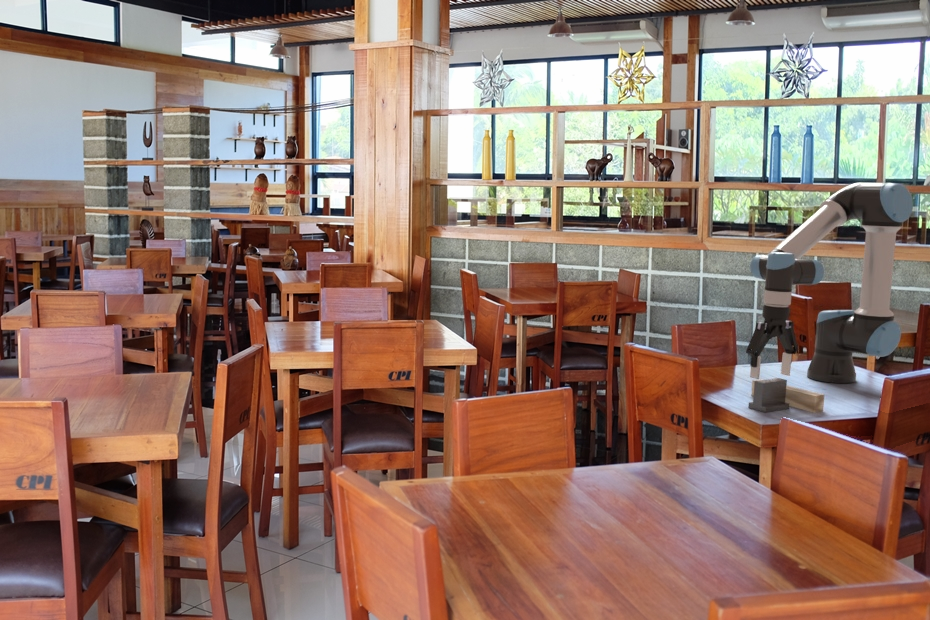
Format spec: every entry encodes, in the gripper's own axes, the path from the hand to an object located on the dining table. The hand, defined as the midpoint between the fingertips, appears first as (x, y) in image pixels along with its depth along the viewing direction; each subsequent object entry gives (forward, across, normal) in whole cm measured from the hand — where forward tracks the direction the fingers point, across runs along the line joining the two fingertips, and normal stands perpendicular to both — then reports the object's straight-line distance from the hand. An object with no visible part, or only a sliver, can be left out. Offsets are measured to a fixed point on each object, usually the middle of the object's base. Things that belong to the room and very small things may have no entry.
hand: (770, 376), depth 268 cm
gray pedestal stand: (+7, +9, +8) cm, 14 cm away
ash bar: (+7, 0, +6) cm, 9 cm away
